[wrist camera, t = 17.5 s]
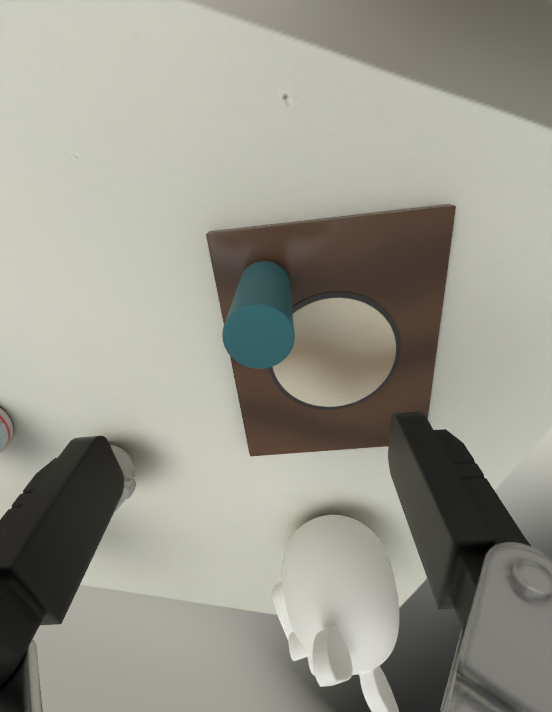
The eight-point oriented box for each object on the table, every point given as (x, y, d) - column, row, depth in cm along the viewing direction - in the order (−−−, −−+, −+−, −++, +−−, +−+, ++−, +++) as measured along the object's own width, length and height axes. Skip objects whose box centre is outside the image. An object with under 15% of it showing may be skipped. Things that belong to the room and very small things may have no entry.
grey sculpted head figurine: (160, 442, 33) (133, 506, 27) (131, 484, 36) (100, 550, 29) (99, 413, 31) (55, 474, 25) (73, 459, 34) (28, 524, 28)
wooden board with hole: (208, 231, 23) (205, 234, 22) (449, 203, 22) (458, 205, 21) (250, 449, 33) (249, 458, 32) (420, 436, 32) (425, 445, 31)
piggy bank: (253, 531, 39) (240, 715, 26) (325, 476, 35) (353, 665, 22) (331, 572, 43) (353, 751, 30) (404, 527, 39) (469, 714, 25)
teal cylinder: (237, 259, 23) (215, 308, 15) (287, 254, 23) (291, 300, 15) (244, 306, 25) (229, 372, 17) (291, 302, 25) (297, 366, 17)
